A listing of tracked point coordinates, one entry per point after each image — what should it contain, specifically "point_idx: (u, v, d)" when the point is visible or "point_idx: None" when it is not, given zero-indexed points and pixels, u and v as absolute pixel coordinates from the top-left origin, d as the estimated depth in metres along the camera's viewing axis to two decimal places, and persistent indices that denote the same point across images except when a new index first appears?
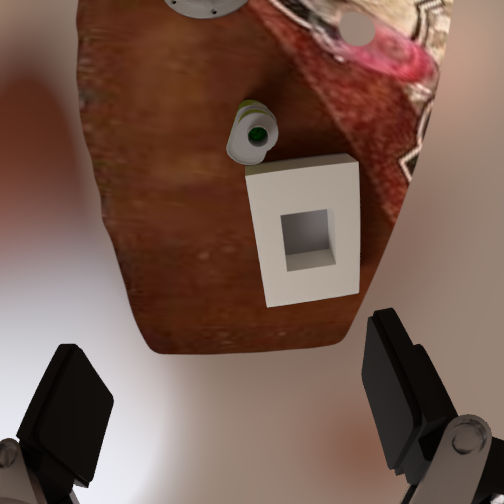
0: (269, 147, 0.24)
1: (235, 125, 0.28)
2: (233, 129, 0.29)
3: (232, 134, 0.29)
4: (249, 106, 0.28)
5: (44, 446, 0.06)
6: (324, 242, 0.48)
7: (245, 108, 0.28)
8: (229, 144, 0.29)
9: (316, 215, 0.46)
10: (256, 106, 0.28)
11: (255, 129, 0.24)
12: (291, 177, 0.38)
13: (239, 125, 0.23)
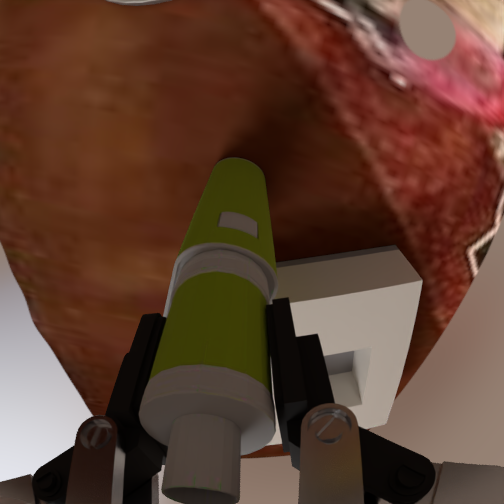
0: (247, 451, 0.07)
1: (173, 290, 0.12)
2: (170, 298, 0.12)
3: (169, 308, 0.12)
4: (205, 247, 0.11)
5: None
6: (346, 365, 0.31)
7: (194, 251, 0.11)
8: None
9: None
10: (224, 246, 0.11)
11: None
12: (307, 312, 0.22)
13: (144, 412, 0.06)
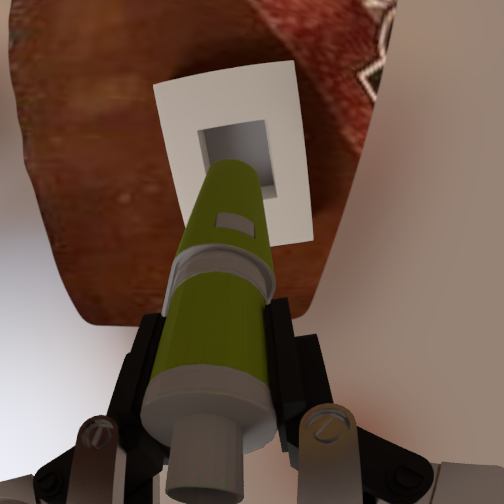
0: (248, 450, 0.07)
1: (171, 291, 0.12)
2: (167, 299, 0.12)
3: (167, 309, 0.12)
4: (202, 247, 0.11)
5: None
6: (266, 176, 0.38)
7: (192, 252, 0.11)
8: None
9: (253, 140, 0.36)
10: (222, 247, 0.11)
11: None
12: (207, 82, 0.28)
13: (146, 413, 0.06)
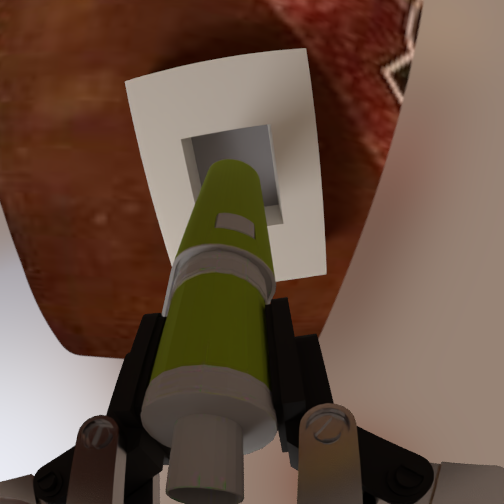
0: (249, 451, 0.07)
1: (171, 291, 0.12)
2: (168, 300, 0.12)
3: (167, 309, 0.12)
4: (203, 248, 0.11)
5: None
6: (270, 194, 0.31)
7: (192, 252, 0.11)
8: None
9: (253, 149, 0.29)
10: (222, 247, 0.11)
11: None
12: (194, 76, 0.21)
13: (146, 414, 0.06)
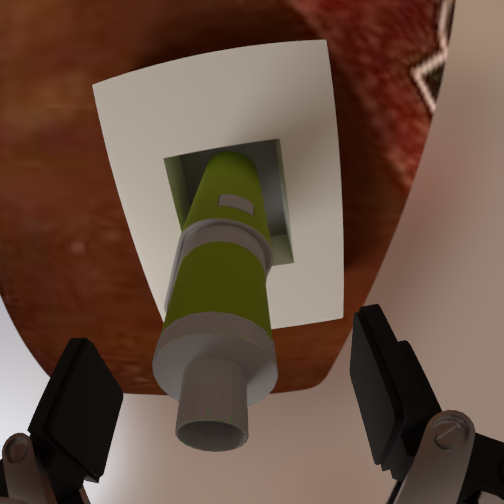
0: (251, 402, 0.08)
1: (177, 264, 0.13)
2: (174, 273, 0.13)
3: (173, 282, 0.13)
4: (207, 222, 0.12)
5: (56, 440, 0.06)
6: (276, 221, 0.26)
7: (198, 226, 0.12)
8: (169, 301, 0.14)
9: (256, 167, 0.23)
10: (224, 221, 0.12)
11: None
12: (179, 75, 0.16)
13: (158, 360, 0.07)
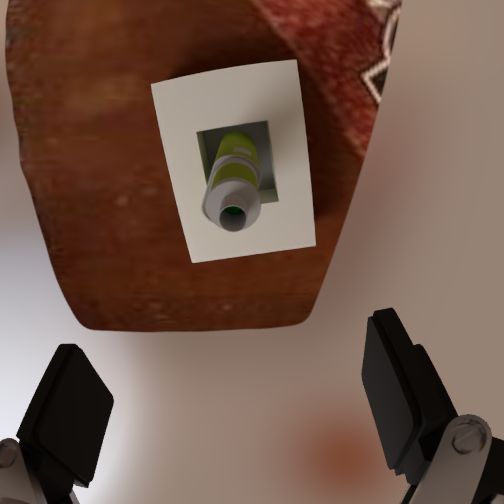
0: (249, 224, 0.20)
1: (211, 180, 0.24)
2: (208, 185, 0.24)
3: (207, 191, 0.24)
4: (228, 156, 0.23)
5: (44, 446, 0.06)
6: (268, 179, 0.37)
7: (223, 159, 0.23)
8: (204, 203, 0.25)
9: (254, 142, 0.35)
10: (237, 156, 0.23)
11: None
12: (207, 81, 0.27)
13: (210, 197, 0.19)
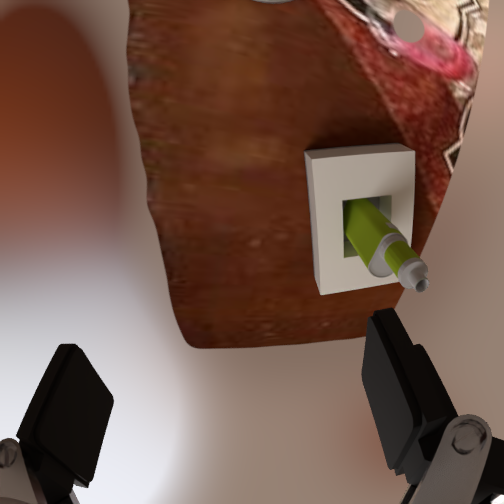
0: None
1: (378, 248, 0.34)
2: (376, 251, 0.34)
3: (374, 255, 0.34)
4: (391, 233, 0.33)
5: (44, 446, 0.06)
6: None
7: (388, 235, 0.33)
8: (370, 263, 0.35)
9: None
10: (396, 233, 0.33)
11: None
12: (355, 162, 0.37)
13: (404, 270, 0.29)
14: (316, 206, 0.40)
